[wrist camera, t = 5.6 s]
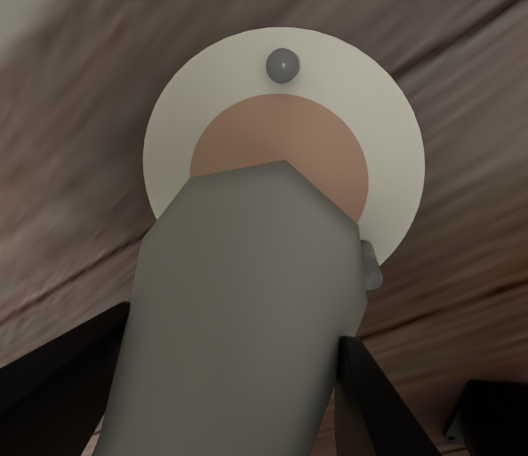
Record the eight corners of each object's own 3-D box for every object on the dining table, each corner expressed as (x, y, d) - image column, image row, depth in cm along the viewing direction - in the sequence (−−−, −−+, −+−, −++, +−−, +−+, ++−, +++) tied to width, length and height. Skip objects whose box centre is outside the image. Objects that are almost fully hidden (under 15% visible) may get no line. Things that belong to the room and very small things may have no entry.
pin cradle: (381, 305, 21) (395, 353, 18) (160, 273, 23) (132, 312, 19) (461, 41, 14) (508, 34, 11) (137, 18, 16) (87, 5, 12)
